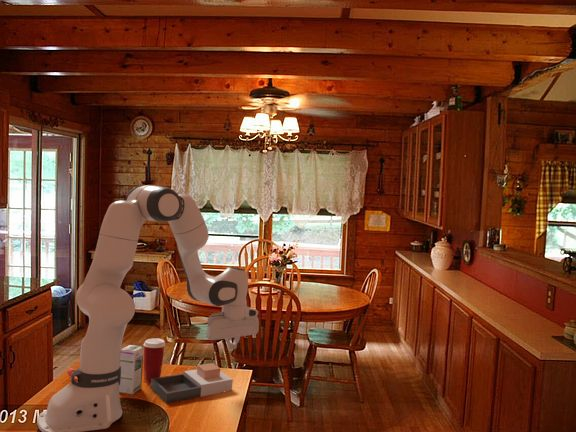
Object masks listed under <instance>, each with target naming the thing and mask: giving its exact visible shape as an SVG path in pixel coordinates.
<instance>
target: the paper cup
mask: <svg viewBox="0 0 576 432" xmlns="http://www.w3.org/2000/svg"><path fill="white" fill-rule="evenodd" d="M142 345H143V347H144V348H143V380H144V381H145V382H146V383H151V379H152V378H158V377H162V369H163V359H164V353H165V346H166V343H165V340H164V339H162V338H159V337H157V338H153V337H152V338H148V339H146V340H145V341H144V343H143V344H142Z"/></svg>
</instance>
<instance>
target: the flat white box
mask: <svg viewBox="0 0 576 432" xmlns="http://www.w3.org/2000/svg"><path fill="white" fill-rule="evenodd" d="M183 374H185V375H187V376H188V377H189V378H190V379H191V380H193V381H194V382H195V383H196V384H198V385H199V386H200V387H201V396H200V397H199V398H201V397H206V396H211V395H216V393H217V394H222V393H221V392H223V393H225V392H224V391H228V390H232V391H233V381H234V380H233V378H232V377H230V376H228V375H227V374H226V373H224V372H223V371H221V370H220V377H216V378H210V379H203V378H202V377H200V376H199V375H198V374H197V368H196V369H189V370H185V371H183ZM228 392H229V391H228Z"/></svg>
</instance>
